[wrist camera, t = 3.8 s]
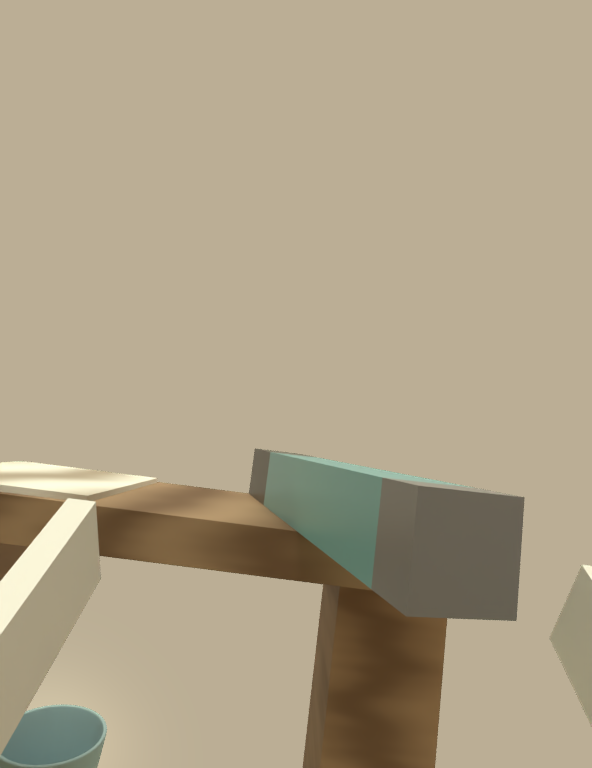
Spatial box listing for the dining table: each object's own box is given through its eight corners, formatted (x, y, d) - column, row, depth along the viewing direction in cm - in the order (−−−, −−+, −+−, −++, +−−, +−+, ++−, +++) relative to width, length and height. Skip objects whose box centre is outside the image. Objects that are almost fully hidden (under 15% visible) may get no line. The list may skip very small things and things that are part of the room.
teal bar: (406, 616, 11) (418, 485, 12) (248, 493, 32) (254, 448, 33) (516, 621, 12) (524, 497, 12) (292, 498, 33) (297, 453, 34)
